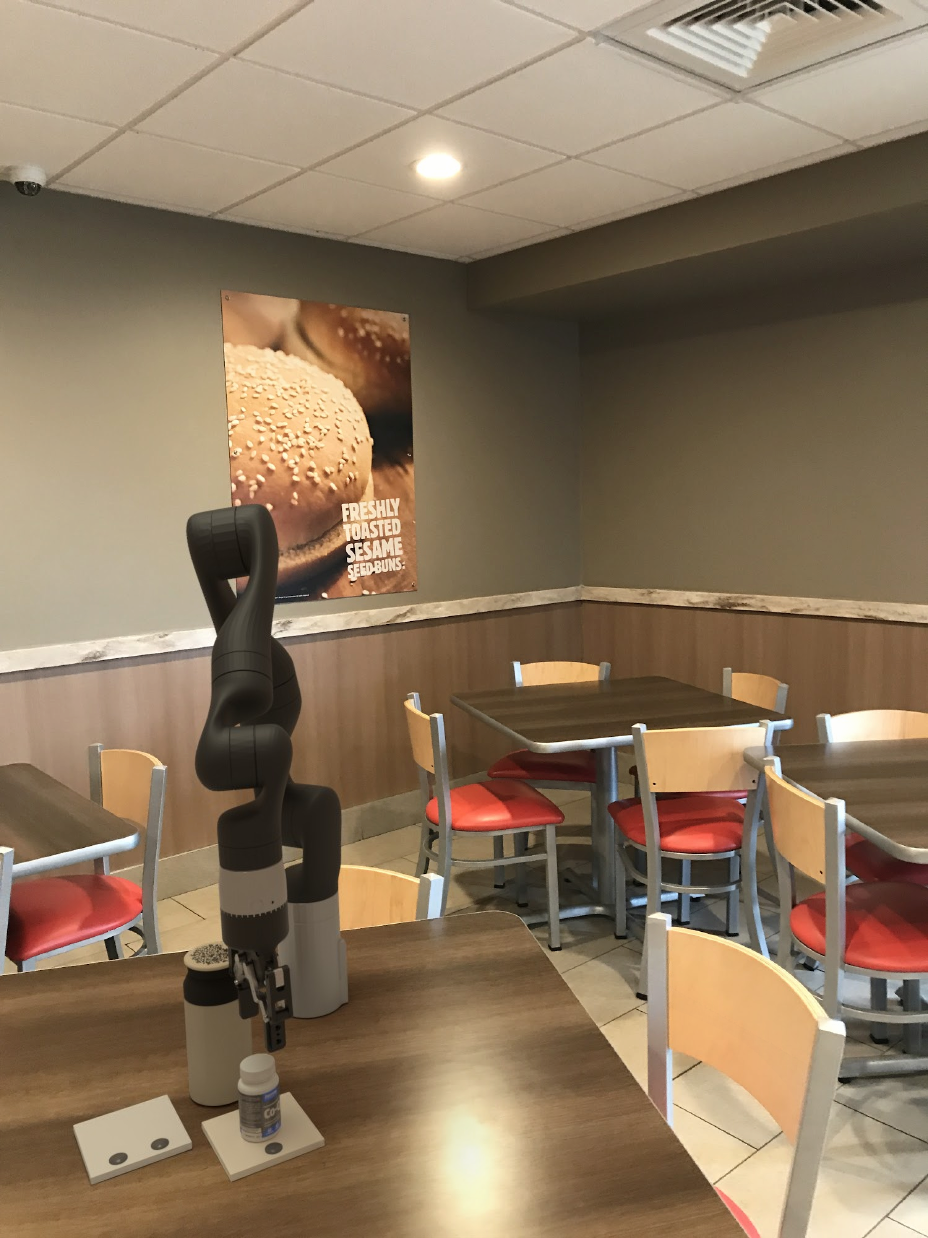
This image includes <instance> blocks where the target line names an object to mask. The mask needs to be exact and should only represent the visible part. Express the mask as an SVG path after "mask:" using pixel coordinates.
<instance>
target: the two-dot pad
mask: <svg viewBox="0 0 928 1238" xmlns="http://www.w3.org/2000/svg"><path fill="white" fill-rule="evenodd" d="M180 1118H181V1117H179V1115H178V1112H177V1111H176V1109H175V1107H174V1105H173V1103H172V1102H171V1099H170V1097H169V1095H168V1094H164V1095H161V1096H158V1097H155V1098H152V1099H149V1100H146V1101H143V1102H140V1103H137V1104H133V1105H131V1106H130V1105H129V1106H128V1107H125V1108H121V1109H117V1110H115V1111H113V1112H112V1111H111V1112H110V1113H105V1114H103V1115H100V1116H97V1117H93V1118H91V1119H87V1120H85V1121H82V1122H79V1123H76V1124H74V1125H72V1129H73V1134H74V1136H75V1140H76V1143H77V1146H78V1148H79V1151H80V1152H79V1153H80V1154H81V1158H82V1160H83V1164H84V1166H85V1169H86V1173H87V1175H88V1178H89V1183H90V1184H91V1185H92V1186H93V1185H96V1184H98V1183H100V1182H104V1181H106V1180H108V1179H112V1178H115V1177H118V1176H119V1175H123V1174H125V1173H129V1172H131V1171H134V1170H136V1169H139V1168H142V1167H145V1166H148V1165H150V1164H153V1163H156V1162H159V1161H162V1160H164V1159H167V1158H170V1157H172V1156H175V1155H178V1154H181V1153H183V1152H186V1151H190V1150H191V1149H193V1142H192V1140H191V1137H190V1135H189V1134H188V1132H187V1130H186V1128H185V1126H184V1124H183V1122H182V1120H181V1119H180Z"/></svg>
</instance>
